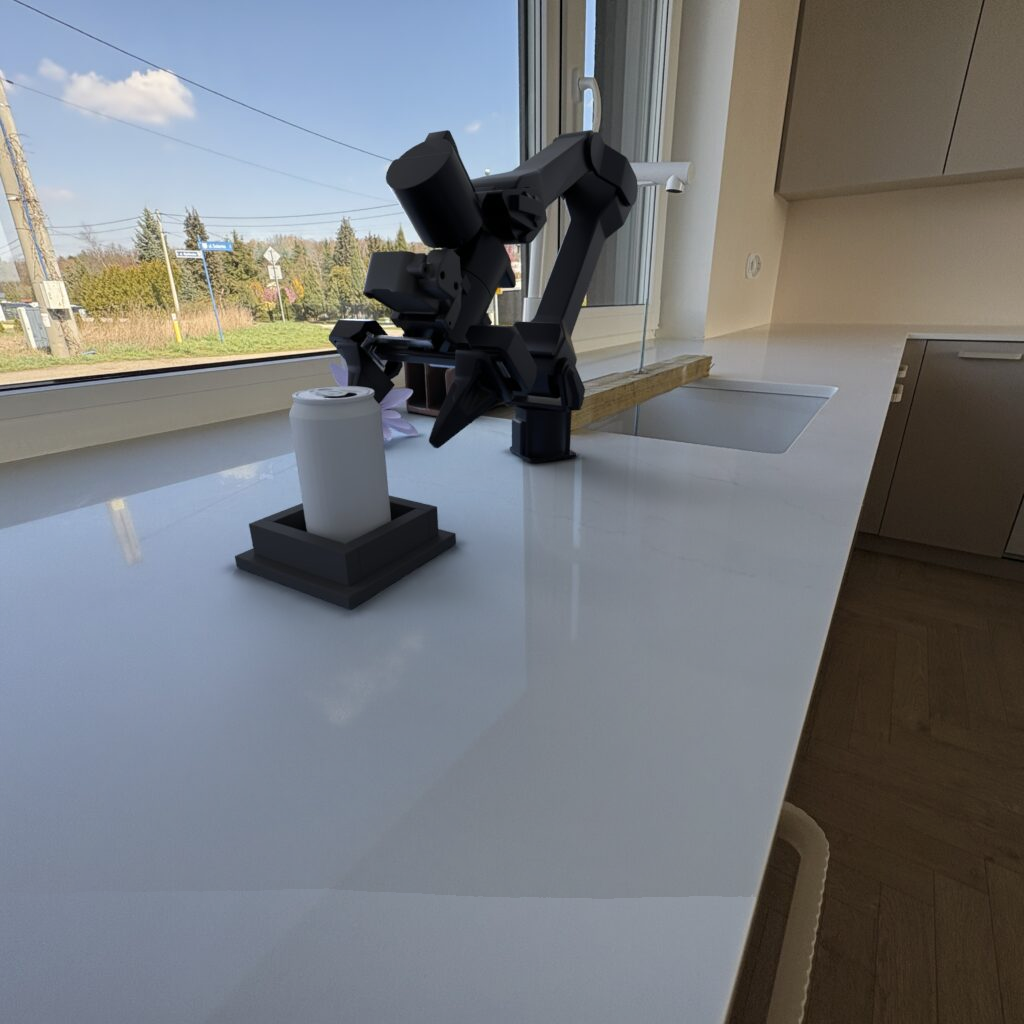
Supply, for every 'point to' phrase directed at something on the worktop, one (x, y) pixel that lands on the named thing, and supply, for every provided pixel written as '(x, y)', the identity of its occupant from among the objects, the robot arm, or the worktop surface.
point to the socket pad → (344, 553)
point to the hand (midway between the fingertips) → (388, 437)
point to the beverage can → (340, 461)
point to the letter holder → (428, 387)
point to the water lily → (383, 405)
